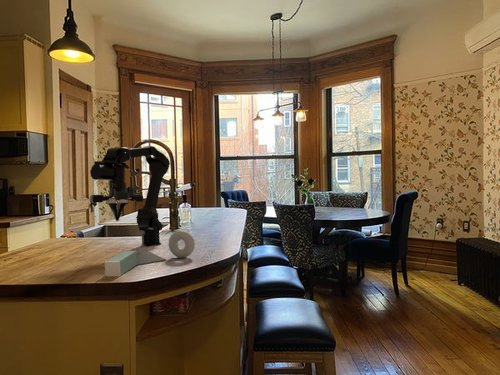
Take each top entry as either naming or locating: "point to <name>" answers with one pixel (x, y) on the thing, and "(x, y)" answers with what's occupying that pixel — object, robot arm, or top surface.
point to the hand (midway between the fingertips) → (117, 220)
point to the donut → (186, 238)
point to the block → (120, 263)
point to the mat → (147, 258)
